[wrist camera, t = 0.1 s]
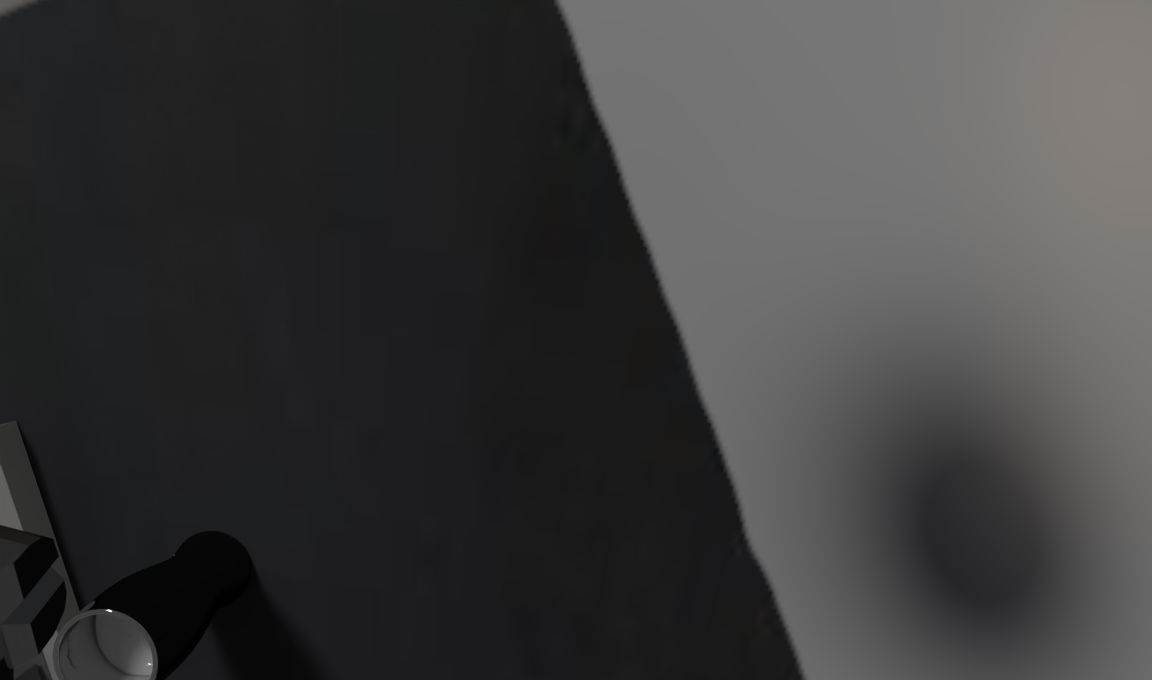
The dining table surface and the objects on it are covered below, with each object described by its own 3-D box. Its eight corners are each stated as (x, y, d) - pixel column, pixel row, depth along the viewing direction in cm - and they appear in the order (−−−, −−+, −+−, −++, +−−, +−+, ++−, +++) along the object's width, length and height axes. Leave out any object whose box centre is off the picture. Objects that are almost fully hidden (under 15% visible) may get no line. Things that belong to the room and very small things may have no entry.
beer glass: (264, 535, 67) (169, 620, 52) (249, 618, 68) (151, 725, 53) (177, 516, 67) (57, 594, 52) (163, 599, 68) (41, 700, 53)
